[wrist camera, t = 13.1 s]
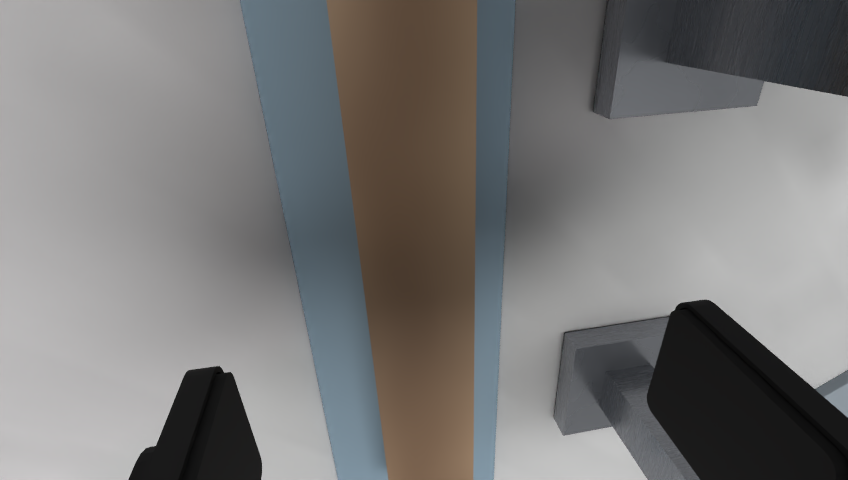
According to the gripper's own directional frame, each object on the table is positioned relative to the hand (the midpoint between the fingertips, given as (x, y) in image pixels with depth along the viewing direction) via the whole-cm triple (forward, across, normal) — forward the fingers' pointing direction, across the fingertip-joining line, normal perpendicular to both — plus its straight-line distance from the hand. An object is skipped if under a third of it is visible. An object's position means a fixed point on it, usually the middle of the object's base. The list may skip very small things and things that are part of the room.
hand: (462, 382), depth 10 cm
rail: (+6, 0, +1) cm, 6 cm away
